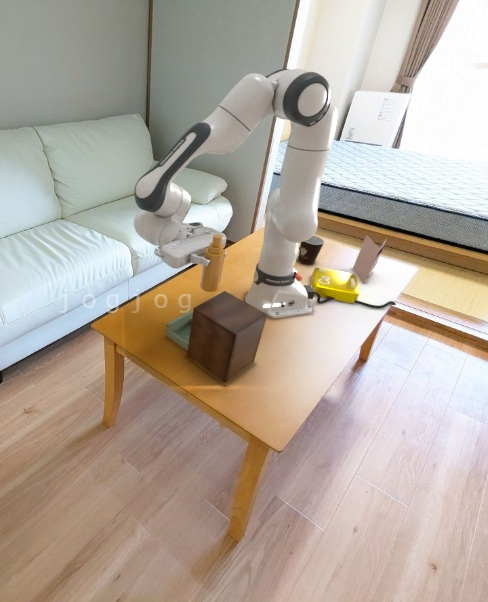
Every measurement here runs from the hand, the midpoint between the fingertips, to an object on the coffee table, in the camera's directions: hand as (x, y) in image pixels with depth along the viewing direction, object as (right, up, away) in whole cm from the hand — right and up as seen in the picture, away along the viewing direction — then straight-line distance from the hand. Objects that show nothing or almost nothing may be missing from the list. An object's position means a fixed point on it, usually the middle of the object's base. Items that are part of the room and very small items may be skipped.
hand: (217, 259), depth 94 cm
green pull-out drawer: (-3, -23, +21) cm, 31 cm away
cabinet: (+4, -28, +14) cm, 32 cm away
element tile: (+54, -6, +45) cm, 71 cm away
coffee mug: (+53, +7, +64) cm, 83 cm away
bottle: (-1, -7, +6) cm, 9 cm away
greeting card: (+70, -1, +53) cm, 88 cm away
